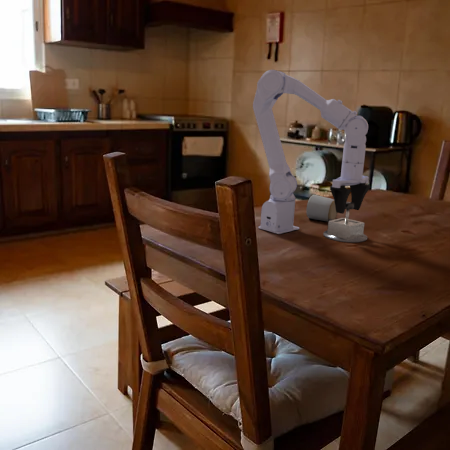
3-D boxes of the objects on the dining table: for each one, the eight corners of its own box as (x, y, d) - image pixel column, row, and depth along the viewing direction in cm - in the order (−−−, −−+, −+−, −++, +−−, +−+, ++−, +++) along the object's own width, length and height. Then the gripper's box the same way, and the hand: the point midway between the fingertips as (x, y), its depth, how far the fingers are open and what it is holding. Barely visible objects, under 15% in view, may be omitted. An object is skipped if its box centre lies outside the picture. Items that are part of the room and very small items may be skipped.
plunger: (348, 228, 138) (351, 205, 137) (334, 224, 141) (336, 202, 140) (358, 225, 141) (360, 203, 140) (343, 222, 145) (346, 200, 143)
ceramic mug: (329, 224, 155) (332, 199, 153) (304, 220, 159) (307, 195, 157) (341, 219, 164) (344, 195, 162) (318, 214, 168) (320, 191, 166)
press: (351, 245, 134) (353, 229, 133) (314, 234, 142) (316, 220, 141) (375, 237, 142) (377, 223, 141) (339, 228, 150) (340, 214, 149)
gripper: (350, 165, 129) (345, 217, 133) (380, 162, 139) (374, 210, 143) (327, 162, 134) (323, 212, 138) (358, 159, 144) (352, 205, 147)
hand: (347, 211), depth 140 cm, fingers open, 7 cm apart
